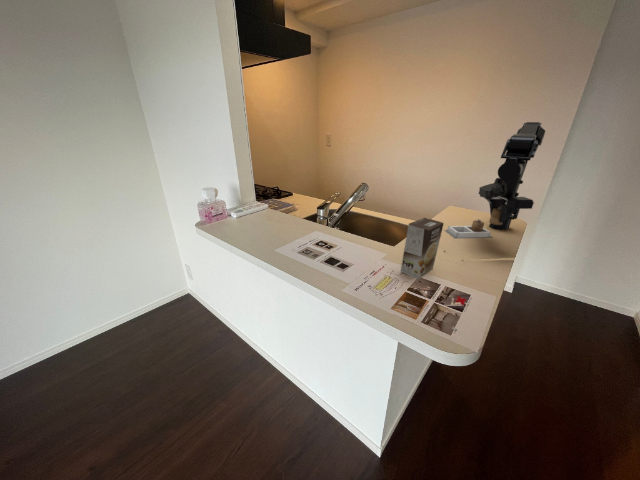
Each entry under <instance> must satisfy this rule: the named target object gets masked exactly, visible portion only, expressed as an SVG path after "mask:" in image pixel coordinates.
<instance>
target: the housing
mask: <svg viewBox="0 0 640 480" xmlns="http://www.w3.org/2000/svg"><path fill="white" fill-rule="evenodd" d="M471 227H472V225H455V226H454V225H452V226H451V225H449V226H447V229H445V230H444V229H443V231H444V232H445V233H447V234H448V235H449V236H450V237H452V238H453V239H456V240H457V239H458V240H459V239H493V238H494V237H493V236H492V235H491V234H492V232H491V231H490V230H488V229H486V228H484V227H483V230H482V232H474V231H472V230H471Z"/></svg>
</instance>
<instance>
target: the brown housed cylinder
mask: <svg viewBox="0 0 640 480" xmlns="http://www.w3.org/2000/svg"><path fill="white" fill-rule="evenodd" d="M471 226H472V227H471V230H472V231H474V232H482V230H483V228H484V226H485V222H484V221H482V220H481V219H477V220H473V221H472V223H471Z"/></svg>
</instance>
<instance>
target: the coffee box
mask: <svg viewBox="0 0 640 480" xmlns="http://www.w3.org/2000/svg"><path fill="white" fill-rule="evenodd" d="M443 227H444V222H442V221H440V220H435V219H431V218H430V219H429V218H426V217H423V218H420V219H418V220H415V221H412V222H409V223H408V227H407V232H406V237H405V244H404V248H403V249H404V250H403V254H402V260H401V265H400V266H401V267H400V272H401V273H403V274H405V275H407V276H409V277H412V278H414V279H416V280H419V279H421V278H422V277H424V276H425V275H427V274H429V273H430V272H431V271H432V270H434V265H435V262H436V257H437V253H438V249H439V245H440V240H441V237H442V231H443Z"/></svg>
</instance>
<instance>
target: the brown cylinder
mask: <svg viewBox="0 0 640 480" xmlns="http://www.w3.org/2000/svg"><path fill="white" fill-rule="evenodd" d="M501 211H502V207H498V208H493V211H492V214H491V215H490V218H489V221H488V223H489V224H490V223H491V224H495V225H502V223H503V222H502V223H500V222H499V219H500V215H501Z"/></svg>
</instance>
